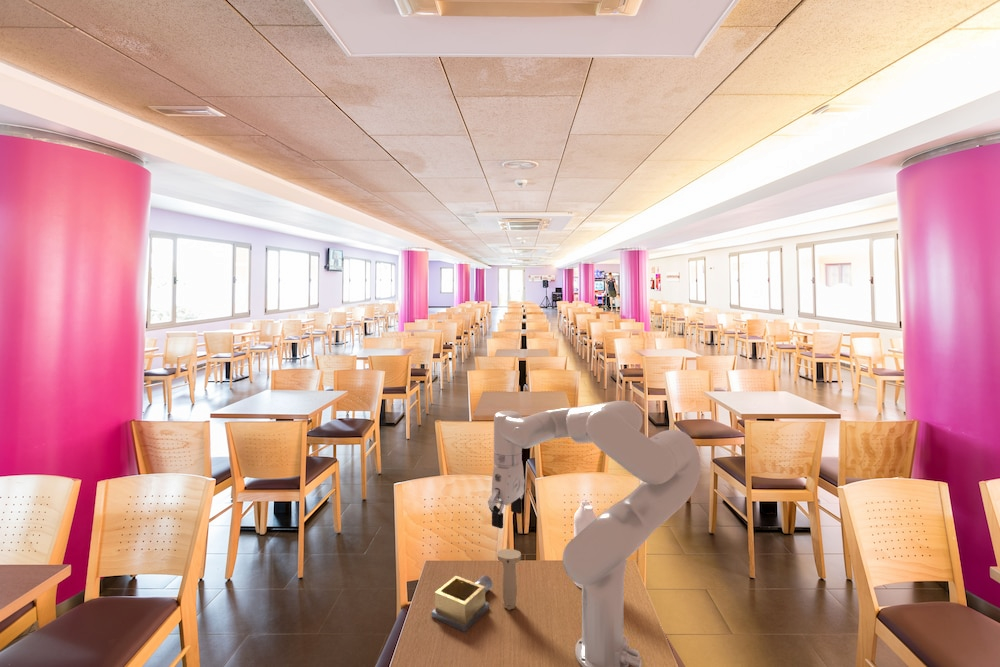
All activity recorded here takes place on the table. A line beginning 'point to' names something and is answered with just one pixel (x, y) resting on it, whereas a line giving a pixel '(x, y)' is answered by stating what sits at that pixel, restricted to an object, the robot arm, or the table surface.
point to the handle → (509, 576)
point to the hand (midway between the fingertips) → (507, 519)
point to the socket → (461, 601)
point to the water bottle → (583, 520)
